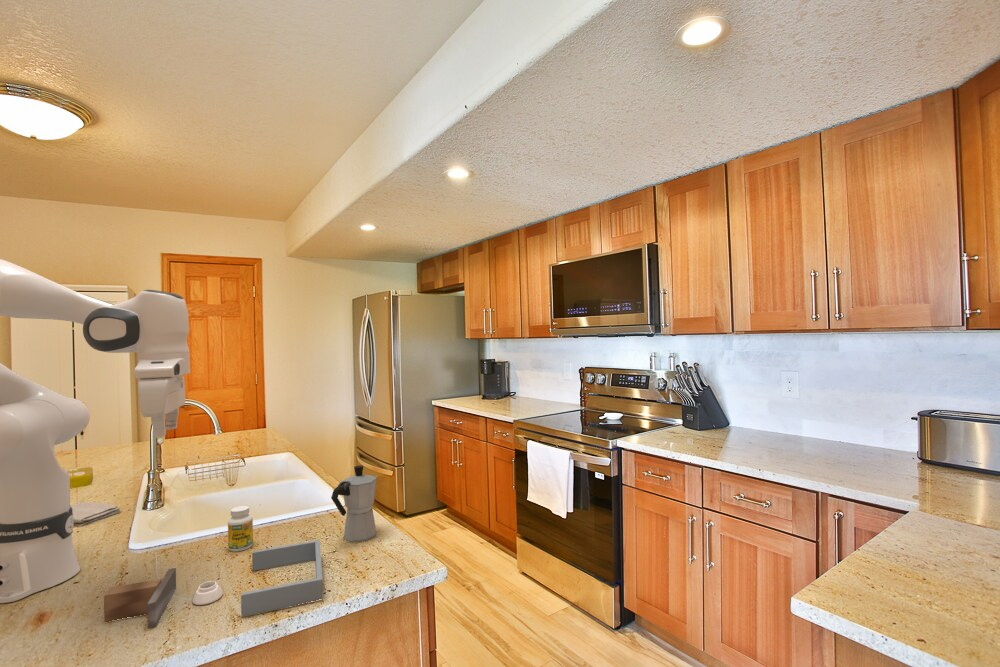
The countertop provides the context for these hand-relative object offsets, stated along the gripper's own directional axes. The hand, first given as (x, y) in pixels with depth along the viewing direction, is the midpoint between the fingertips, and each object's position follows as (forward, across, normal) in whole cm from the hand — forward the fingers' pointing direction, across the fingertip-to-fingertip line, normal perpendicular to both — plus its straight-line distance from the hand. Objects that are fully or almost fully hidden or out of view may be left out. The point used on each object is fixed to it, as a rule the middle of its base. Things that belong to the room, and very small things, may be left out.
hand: (166, 432), depth 99 cm
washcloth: (+32, -59, -34) cm, 75 cm away
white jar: (+32, +10, +8) cm, 35 cm away
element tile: (+32, -104, -53) cm, 121 cm away
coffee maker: (+32, -8, +39) cm, 51 cm away
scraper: (+32, +10, -3) cm, 34 cm away
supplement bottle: (+32, -14, +12) cm, 37 cm away
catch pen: (+32, +10, +22) cm, 40 cm away
